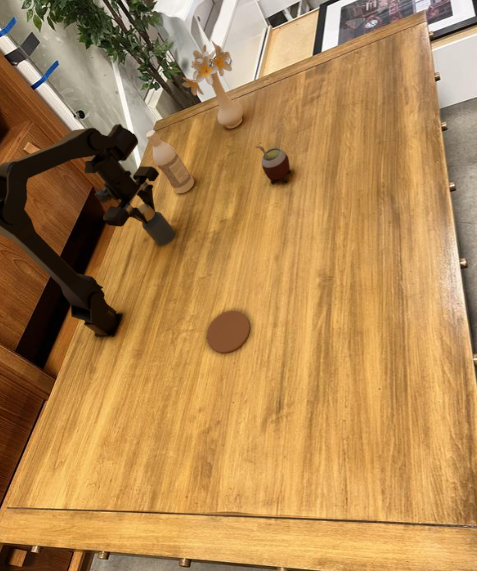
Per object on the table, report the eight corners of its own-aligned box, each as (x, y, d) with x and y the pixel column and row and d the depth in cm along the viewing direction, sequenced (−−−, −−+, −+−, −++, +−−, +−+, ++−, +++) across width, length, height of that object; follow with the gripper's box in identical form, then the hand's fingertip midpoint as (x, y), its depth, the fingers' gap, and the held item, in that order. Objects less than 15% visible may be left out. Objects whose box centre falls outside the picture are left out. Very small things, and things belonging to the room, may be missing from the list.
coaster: (245, 353, 79) (244, 352, 79) (203, 352, 84) (201, 351, 83) (253, 311, 85) (252, 309, 84) (213, 312, 89) (212, 311, 89)
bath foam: (173, 186, 126) (137, 134, 111) (192, 175, 126) (158, 121, 111) (177, 197, 122) (141, 145, 107) (197, 186, 121) (162, 131, 106)
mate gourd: (286, 165, 109) (268, 118, 98) (299, 178, 104) (282, 130, 93) (263, 179, 109) (243, 134, 98) (275, 193, 104) (255, 147, 93)
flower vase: (207, 143, 133) (169, 73, 115) (230, 108, 141) (198, 38, 122) (238, 141, 126) (203, 66, 108) (261, 105, 133) (232, 29, 115)
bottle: (171, 244, 109) (149, 217, 101) (153, 246, 112) (130, 220, 104) (177, 227, 113) (157, 199, 105) (159, 229, 116) (138, 203, 107)
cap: (157, 211, 106) (151, 203, 104) (150, 222, 104) (143, 214, 102) (147, 210, 108) (141, 202, 106) (139, 221, 106) (133, 213, 104)
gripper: (113, 149, 103) (147, 191, 115) (72, 201, 96) (112, 241, 108) (142, 147, 97) (174, 192, 108) (100, 203, 90) (139, 245, 101)
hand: (149, 217), depth 107 cm, fingers closed on cap, 4 cm apart
